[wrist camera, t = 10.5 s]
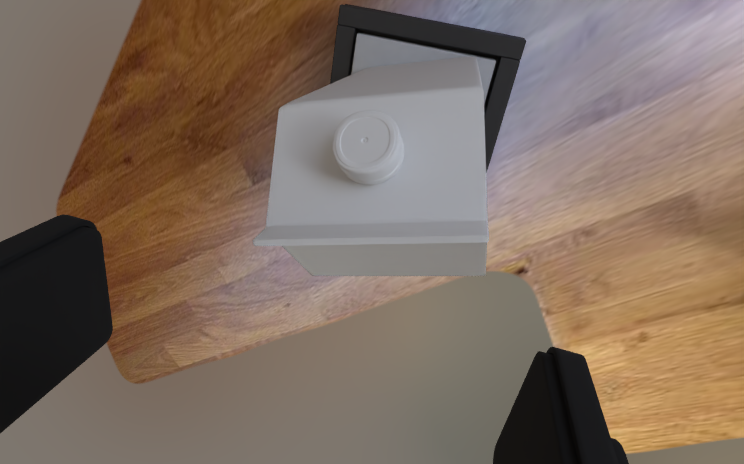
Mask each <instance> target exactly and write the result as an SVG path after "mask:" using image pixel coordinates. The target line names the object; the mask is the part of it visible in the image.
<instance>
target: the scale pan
mask: <svg viewBox="0 0 744 464" xmlns="http://www.w3.org/2000/svg"><path fill="white" fill-rule="evenodd" d="M471 56H475V57H477V62H478V67H479V72H480V77H481V81H482V86H483V90H484V103H485V100H486V96H487V92H488V89H489V85H490V82H491V78H492V74H493V71H494V67H495V64H496V61H495V59H492V58H487V57H482V56H477V55H472V54H467V53H462V52H457V51H452V50H447V49H442V48H436V47H431V46H426V45H421V44H416V43H411V42H406V41H401V40H396V39H391V38H386V37H381V36H376V35H371V34H366V33H358V34H357V37H356V44H355V51H354V58H353V65H352V72H351V75H352V74H354V73H357V72H359V71H361V70H363V69H366V68H370V67H377V66H386V65H395V64H405V63H414V62H423V61H432V60H441V59H451V58H460V57H471Z"/></svg>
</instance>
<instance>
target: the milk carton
mask: <svg viewBox="0 0 744 464" xmlns="http://www.w3.org/2000/svg"><path fill="white" fill-rule="evenodd" d="M488 241H489V231H488V216H487V184H486V152H485V121H484V90H483V86H482V81H481V77H480V72H479V67H478V62H477V57H475V56H471V57H460V58H451V59H441V60H432V61H423V62H414V63H405V64H395V65H386V66H377V67H370V68H366V69H363V70H361V71H359V72H357V73H354V74H352V75H350V76H347V77H345V78H343V79H341V80H338V81H336V82H334V83H332V84H329V85H327V86H325V87H322V88H320V89H318V90H316V91H313V92H311V93H309V94H306V95H304V96H302V97H300V98H297V99H295V100H293V101H291V102H289V103H287V104H285V105H283V106H282V107H280V108H279V113H278V121H277V130H276V139H275V148H274V157H273V166H272V175H271V184H270V193H269V202H268V211H267V220H266V228H265V229H264V230H263V231H262V232H261V233H260V234H259V235H258V236H257V237H256V238H255V239H254V240H253V244H254V246H282V247H283V248H284V249H285V250H287V251H288V252H289V253H290V254H291V255H292V256H293V257H294V258H295V259H296V260H297V261H298V262H299V263H300V264H301V265H302V266H303V267H304V268H305V269H306V270H307V271H308V272H309V273H310V274H311V275H313V276H485V275H486V255H487V242H488Z"/></svg>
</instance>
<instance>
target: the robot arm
mask: <svg viewBox="0 0 744 464" xmlns="http://www.w3.org/2000/svg"><path fill="white" fill-rule="evenodd" d="M112 330H113V326H112V318H111V310H110V302H109V294H108V285H107V277H106V269H105V261H104V253H103V245H102V237H101V234H100V233H99V231H97V228H96V226H95V225H94V223H92V222H90V221H88V220H84V219H80V218H77V217H73V216H69V215H60V216H57V217H54V218H52V219H50V220H48V221H46V222H43V223H41V224H39V225H37V226H35V227H33V228H30V229H28V230H26V231H24V232H21V233H19V234H17V235H15V236H13V237H10V238H8V239H6V240H4V241H2V242H0V433H1V432H2V431H4V430H5V429H6V428H7V427H8V426H9V425H10V424H12V423H13V422H14V421H15V420H16V419H18V418H19V417H20V416H21V415H22V414H24V413H25V412H26V411H27V410H28V409H29V408H30V407H32V406H33V405H34V404H35V403H36V402H37V401H39V400H40V399H41V398H42V397H43V396H45V395H46V394H47V393H48V392H49V391H50V390H52V389H53V388H54V387H55V386H56V385H58V384H59V383H60V382H61V381H62V380H63V379H65V378H66V377H67V376H68V375H69V374H70V373H72V372H73V371H74V370H75V369H76V368H77V367H79V366H80V365H81V364H82V363H83V362H85V361H86V360H87V359H88V358H89V357H90V356H92V355H93V354H94V353H95V352H96V351H97V350H99V349H100V348H101V347H102V346H103V345H104V344H105V343H106V342H107V341H108V340H109V338H110V336H111V334H112ZM493 464H629V463H628V460H627V457H626V454H625V452H624V450H623V447H622V445H621V444H620V443H619V442H618V441H617V440H616V439H612V438H610V435H609V431H608V428H607V425H606V422H605V419H604V416H603V413H602V409H601V406H600V403H599V400H598V397H597V394H596V391H595V387H594V384H593V381H592V378H591V375H590V372H589V369H588V365H587V362H586V360H585V358H584V356H583V355H581V354H577V353H573V352H570V351H566V350H562V349H559V348H555V347H550V348H549V349H548V351H547V353H544V352H540V351H539V352H538V353H537V354H536V356H535V357H534V360H533V362H532V364H531V366H530V369H529V371H528V373H527V376H526V378H525V380H524V382H523V385H522V387H521V389H520V391H519V394H518V396H517V398H516V400H515V403H514V405H513V407H512V410H511V412H510V414H509V416H508V418H507V421H506V423H505V425H504V427H503V430H502V432H501V435H500V437H499V439H498V441H497V444H496V446H495V451H494V458H493Z"/></svg>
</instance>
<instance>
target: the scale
mask: <svg viewBox="0 0 744 464" xmlns="http://www.w3.org/2000/svg"><path fill="white" fill-rule="evenodd" d="M358 33H366V34H371V35H376V36H381V37H386V38H391V39H396V40H401V41H406V42H411V43H416V44H421V45H426V46H431V47H436V48H442V49H447V50H452V51H457V52H462V53H467V54H472V55H477V56H482V57H487V58H492V59H495V61H496V64H495V67H494V71H493V74H492V78H491V82H490V85H489V89H488V92H487V96H486V100H485V103H484V121H485V152H486V173H487V169H488V166H489V163H490V159H491V156H492V153H493V149H494V146H495V143H496V140H497V136H498V133H499V130H500V126H501V123H502V120H503V116H504V113H505V110H506V106H507V103H508V100H509V97H510V93H511V90H512V87H513V83H514V80H515V77H516V73H517V70H518V67H519V63H520V61H519V60H520V59H521V57H522V53H523V50H524V47H525V43H526V40H525V39H524V38H521V37H517V36H511V35H506V34H501V33H496V32H490V31H485V30H480V29H475V28H470V27H464V26H459V25H454V24H449V23H443V22H438V21H433V20H428V19H422V18H417V17H412V16H407V15H402V14H396V13H391V12H386V11H381V10H375V9H370V8H365V7H360V6H354V5H348V4H345V5H340V9H339V17H338V25H337V32H336V40H335V48H334V57H333V65H332V73H331V82H330V84H332V83H334V82H336V81H338V80H341V79H343V78H345V77H347V76H350V75H351V72H352V65H353V58H354V51H355V44H356V37H357V34H358Z"/></svg>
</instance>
